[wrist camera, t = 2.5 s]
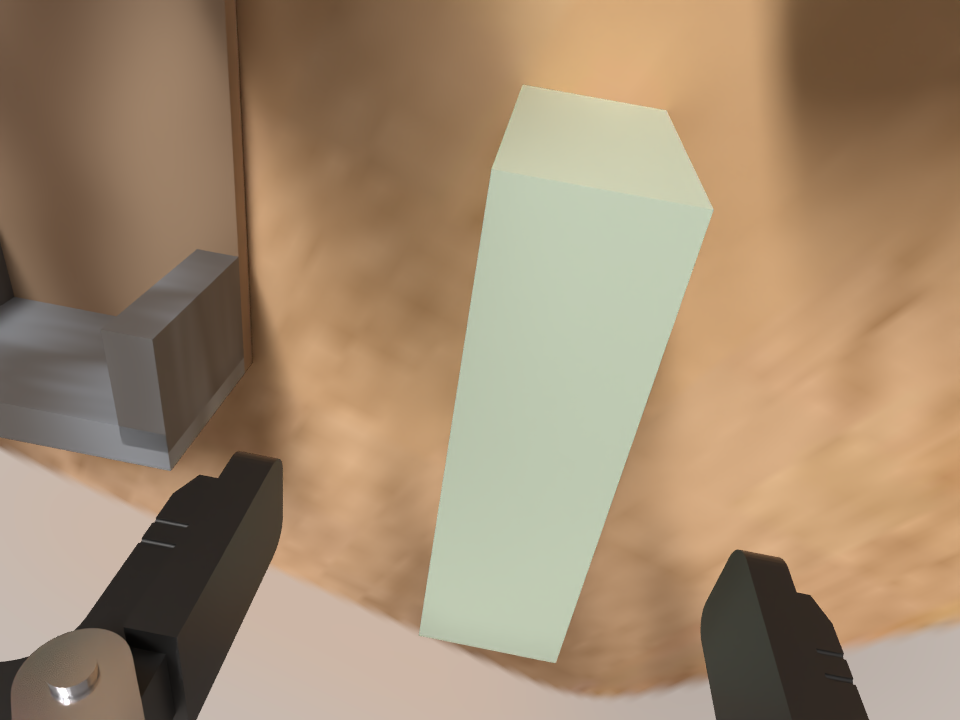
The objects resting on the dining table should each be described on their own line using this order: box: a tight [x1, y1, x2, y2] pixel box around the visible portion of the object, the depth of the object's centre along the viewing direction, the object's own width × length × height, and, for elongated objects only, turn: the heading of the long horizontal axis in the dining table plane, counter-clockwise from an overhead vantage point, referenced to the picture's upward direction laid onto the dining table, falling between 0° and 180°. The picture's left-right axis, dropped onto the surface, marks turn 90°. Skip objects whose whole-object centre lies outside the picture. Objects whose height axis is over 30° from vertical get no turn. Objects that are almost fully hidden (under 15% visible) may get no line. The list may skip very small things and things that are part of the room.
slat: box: [419, 85, 713, 663], centre depth 17 cm, size 4×12×7 cm, turn 171°
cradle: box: [0, 0, 253, 471], centre depth 15 cm, size 8×17×5 cm, turn 171°
